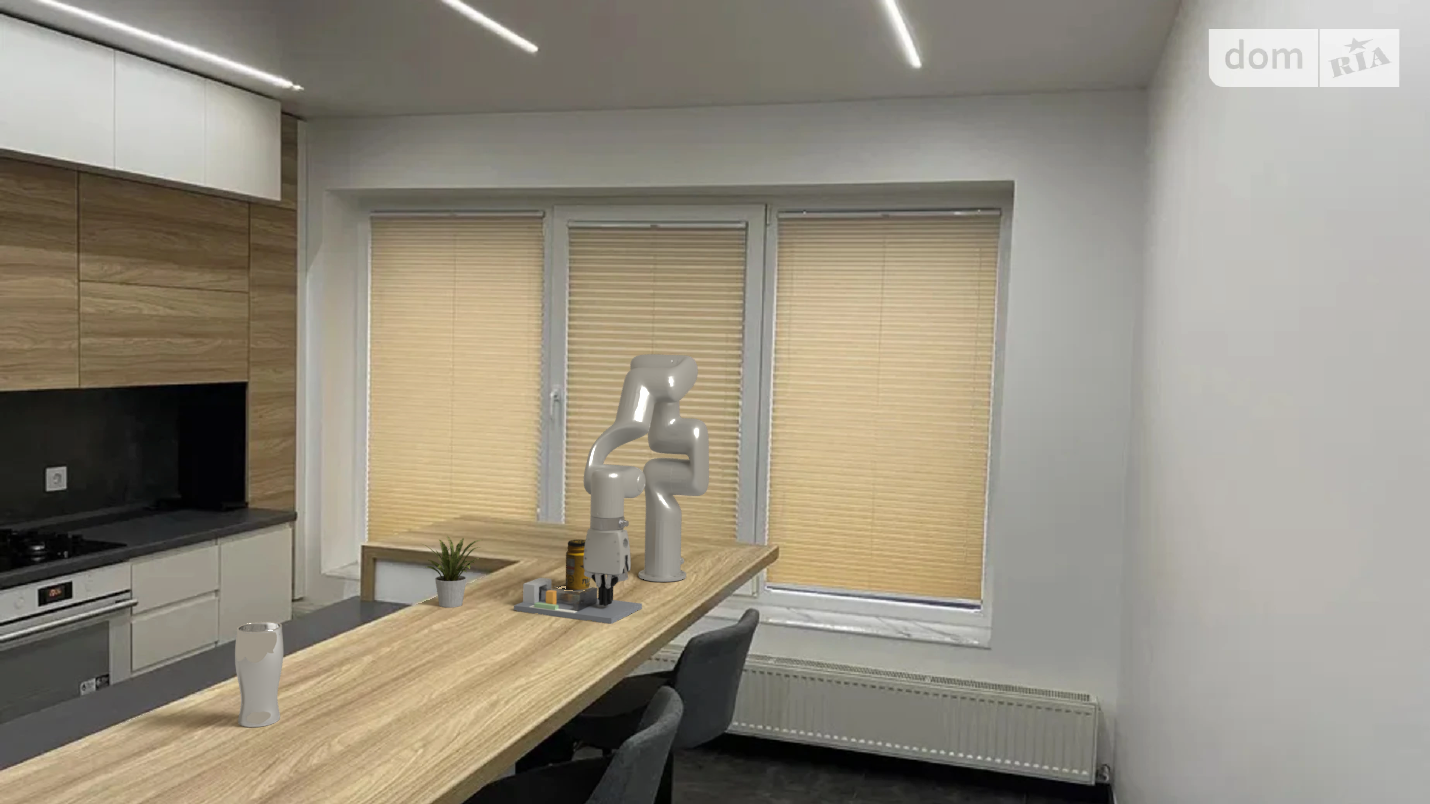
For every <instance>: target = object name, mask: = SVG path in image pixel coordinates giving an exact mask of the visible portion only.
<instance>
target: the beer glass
mask: <svg viewBox="0 0 1430 804" xmlns="http://www.w3.org/2000/svg"><path fill="white" fill-rule="evenodd" d="M283 638H284V637H283V624H282V623H280V622H277V621H269V620H267V621H254V622H248V623H244V624H240V625H239V626H237V627H236V634H235V645H234V646H235V647H234V665H235V672H236V678H237V682H238V687H239V693H240V708H239V713H238V719H237V723H238V725H239V726H242V727H244V728H259V727H260V728H261V727H266V726H267V727H268V726H270V725H273V724H275V723H277V722H279V721H280V719H281V714H280V709H279V703H278V700H279V699H278V696H279V695H278V694H279V693H278V692H279V686H280V680H281V674H282V670H283V663H284V662H283V661H284V639H283Z"/></svg>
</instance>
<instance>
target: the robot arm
mask: <svg viewBox="0 0 1430 804" xmlns="http://www.w3.org/2000/svg"><path fill="white" fill-rule="evenodd" d="M629 366H630V367H629V369H630V370H629V371H628V372H627V373H626V375H625V376H624V380H623V385H622V388H621V393H620V398H619V402H618V407H617V411H616V416H615V419H614V422H613V423H612V425H610V426H609V427H608V428H606V429H605V430H604V431H603V432H602V433H601V434H600V435H599V436H598V438H597V439H596V440H595V441H594V443H593V444H592V445H591V447H590V449H589V452H588V454H587V455H588V456H587V459H586V463H585V464H586V465H585V467H584V472H583V480H582V481H583V487H584V489H585V491H586V493H588V494H589V495H590V518H589V519H590V521H589V522H590V524H589V526H590V527H589V528H588V529H587V531H586V536H585V540H586V541H585V548H584V570H585V572H584V575H585V576H586V577H589V578H590V579H592V581H593V582H594V584H595V585H596V588H597V598H598V600H599V605H604V606H607V605H609V604H611V603H612V601H613V600H614V587H615V586H616V585H617V584H618V583H619V582H624V581H627V580H628V579H629V575H628V574H629V573H628V572H630V571H631V566H632V565H631V564H632V563H631V560H632V559H631V549H630V540H629V534H628V533H629V532H628V530H627V529H625V527H629V524H630V523H629V522H630V521H629V520H625V516H624V515H625V499H634V498H637V497H639V496H640V495H641V494H642V493H643V491H644V497H645V521H644V522H645V525H644V569H642V570H640V571H639V572H638V578H639V579H641V580H643V579H644V581H650V582H655V583H657V582H658V583H663V582H664V583H665V582H666V583H667V582H679V581H682V579H683V580H684V579H686V578H687V572H686V571H685V570H681V566H682V565H683V564H684V563H685V559H684V557H683V556H682V516H683V514H682V508H681V506H680V504H679V502H678V501H677V499H676V498H675V496H684V497H686V496H689V497H699V496H703V495H704V494H705V493H707V491H708V489H709V484H710V445H709V444H710V439H709V431H708V427H707V425H706V423H705V422H704V421H703V420H701V419H698V418H693V417H692V418H690V417H689V418H687V417H681V413H680V406H681V405H680V401H682V399H683V398H684V397H685V396H686V395H687V394H688V393H689V391H691V389H693V387H694V385H696V382H697V379H698V373H699V368H698V364H697V362H696V360H695V359H694V358H693V357H692V356H691V355H685V354H684V355H683V354H659V353H658V354H656V353H654V354H653V353H649V354H639V355H636V356H634V357H633V358H632V359H631V361H630V365H629ZM646 435H647V442H648V446H649V449H650V450H651V451H652V452H655V453H657V454H658V453H659V454H667V455H668V454H669V455H683V456H684V455H685V456H687V457H688V459H687V458H677V457H676V458H673V457H657V458H656V457H655V458H652V459H649V460H648V461H647V462H646V463H645V464H644V465H643V468H642V469H641V468H639V467H636V466H635V465H619V464H607V463H606V464H605V460H606V459H607V457H608V456H609V455H610V453H612V452H613V451H615V450H616V449H617V448H619V447H621V446H623V445H626V444H628V443H631V442H633V441H635V440H638V439H640V438H642V437H644V436H646Z"/></svg>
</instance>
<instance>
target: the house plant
mask: <svg viewBox="0 0 1430 804" xmlns="http://www.w3.org/2000/svg"><path fill="white" fill-rule="evenodd" d="M446 539H447V540H448V544H449V547H450V548H448V546H447V545H446V544H445V543H444V541H443V540H442V539H438V542H439V544H440V545H439V546H440V548H441V554H442V556H441V555H440V553H439V552H438V551H437V550H433V549H432V548H430V547H429V546H427V545H425V544H422V543H421V545H422V546H425V547H426V548H428V549H430V550H431V552H432V553H434V555H435V556H436V557H437V559H438V560H439V561H440V564H439V563H438V562H436V561H434V560H432V559H428V561H429V562H431V564H432V565H433V566H431V565H427V566H426V568H429V569H430V570H433V571H436V572H437V573H438V575H439V576H437V577H435V579H434V580H435V586H436V592H437V593H436V594H437V599H438V605H439V607H441V608H457V607H461V606H463V603H464V596H465V591H466V584H467V576H465V575H462V574H463V572H465V573H468V572H467V568H468V569H469V570H470V569H471V565H470V564H472V563H473V564H474V565H475V564H476V563H475V562H474V561H476V560H480V559H481V557H479V558H474V559H472V560H466V559H467V557H468V556H469V555H470V554H471V553H472V552H473V551H474V550H476V549H479V548H481V546H475V547H474V548H473V546H474V544H475V543H477V542H480V541H482V539H477V540H474V541H472V542H470V543H469V544H468V545H467V546H466V547H465V548H464V549H463V551H462V548H463V547H464V546H463V545H464V540H465V538H464V537H462V538H461V539H460V540H459V542H458V543H457V544H456V547H454V543H453V541H452V539H451V537H449V535H446ZM471 547H472V549H471V550H469V548H471ZM449 550H450V553H449ZM467 550H469V551H468V553H467ZM461 552H462V553H461ZM466 553H467V554H466ZM465 554H466V556H465V557H464V559H463V560H462V558H463V556H464V555H465ZM461 560H462V562H460V561H461ZM459 563H460V564H459ZM466 563H467V564H466ZM465 564H466V565H465ZM434 566H435V567H436V568H435V567H434ZM441 573H442V574H441Z"/></svg>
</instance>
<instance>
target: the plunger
mask: <svg viewBox="0 0 1430 804" xmlns="http://www.w3.org/2000/svg"><path fill="white" fill-rule="evenodd" d="M548 590H554V591H557V593H556V603H562V604H570V605H574V611H580V610H582V609H584V608H586V607H589V606H591V605H593V604H595V603H597V598H598V587H594V586H593V587H592V586H591V588H590V589H587V590H585V591H578V592H577V591H576V592H572V591H564V590H557V589H556V588H551V589H547V588H539V601H546V591H548Z"/></svg>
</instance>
